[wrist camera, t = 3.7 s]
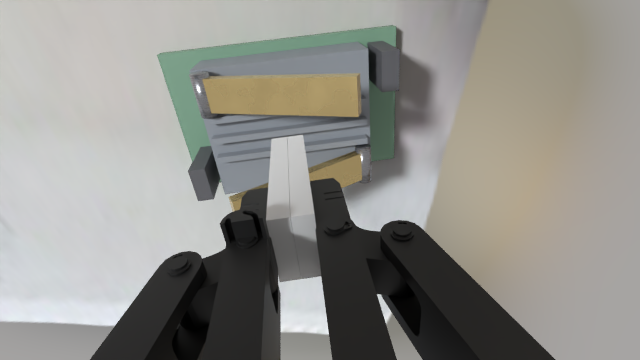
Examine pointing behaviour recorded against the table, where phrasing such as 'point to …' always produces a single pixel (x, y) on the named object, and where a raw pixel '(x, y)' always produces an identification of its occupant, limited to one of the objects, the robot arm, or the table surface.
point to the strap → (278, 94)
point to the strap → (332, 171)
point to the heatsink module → (258, 130)
